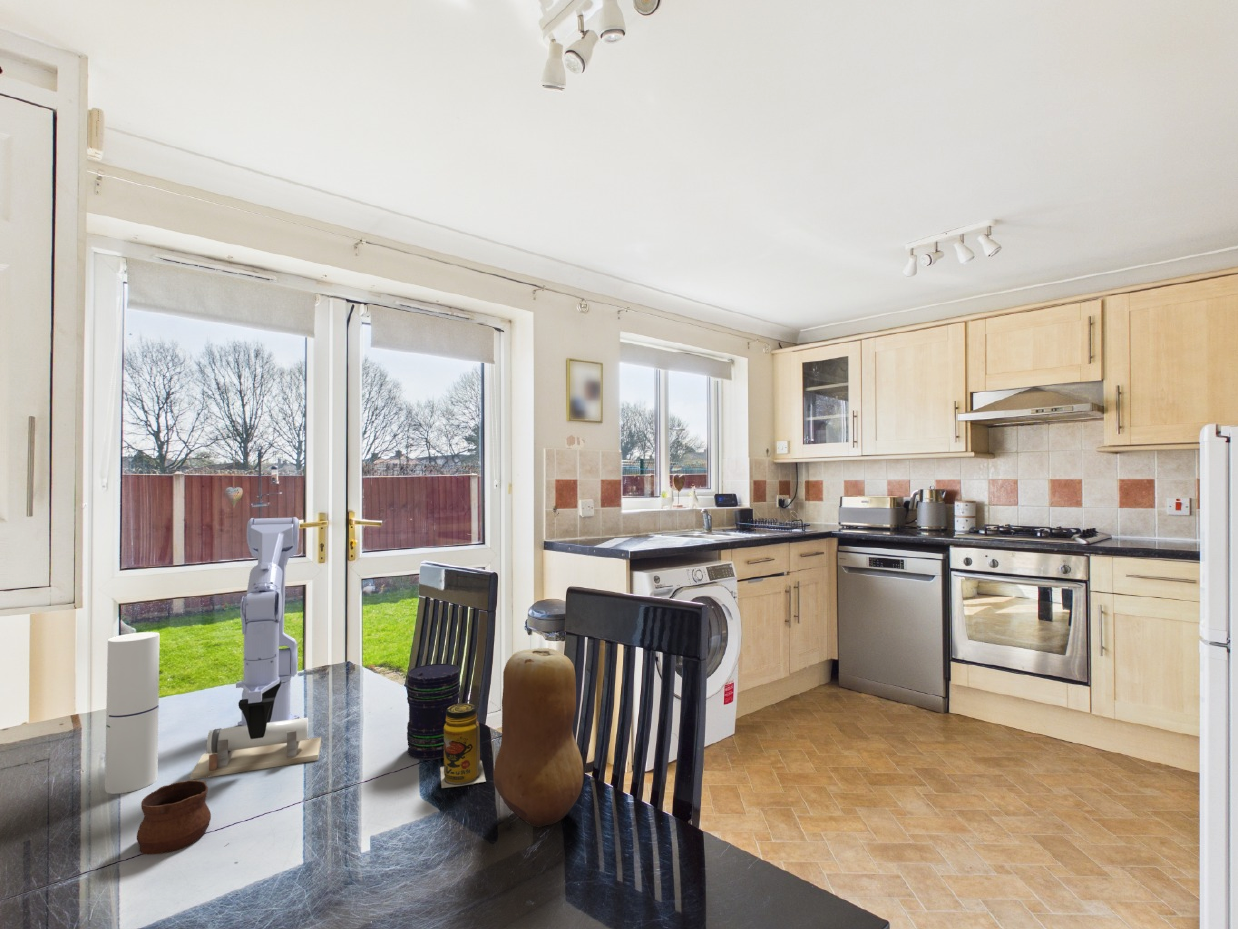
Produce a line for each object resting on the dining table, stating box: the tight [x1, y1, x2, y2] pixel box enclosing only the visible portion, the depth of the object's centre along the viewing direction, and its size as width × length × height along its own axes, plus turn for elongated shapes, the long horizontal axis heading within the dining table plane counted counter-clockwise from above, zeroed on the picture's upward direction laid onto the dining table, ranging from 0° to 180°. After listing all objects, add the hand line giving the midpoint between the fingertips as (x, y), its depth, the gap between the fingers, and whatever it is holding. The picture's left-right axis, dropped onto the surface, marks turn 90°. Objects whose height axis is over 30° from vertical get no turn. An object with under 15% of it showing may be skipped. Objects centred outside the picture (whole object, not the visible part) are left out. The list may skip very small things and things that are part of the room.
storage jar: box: [406, 663, 461, 761], centre depth 122 cm, size 10×10×15 cm
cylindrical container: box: [104, 631, 161, 795], centre depth 109 cm, size 7×7×25 cm
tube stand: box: [190, 718, 322, 780], centre depth 117 cm, size 20×9×6 cm, turn 112°
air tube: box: [206, 717, 309, 754], centre depth 118 cm, size 16×4×4 cm, turn 112°
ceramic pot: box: [136, 779, 230, 855], centre depth 91 cm, size 18×18×7 cm
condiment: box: [439, 702, 487, 789], centre depth 111 cm, size 7×8×12 cm
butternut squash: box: [492, 647, 584, 828], centre depth 96 cm, size 14×13×25 cm
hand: (260, 730), depth 118 cm, fingers open, 7 cm apart
